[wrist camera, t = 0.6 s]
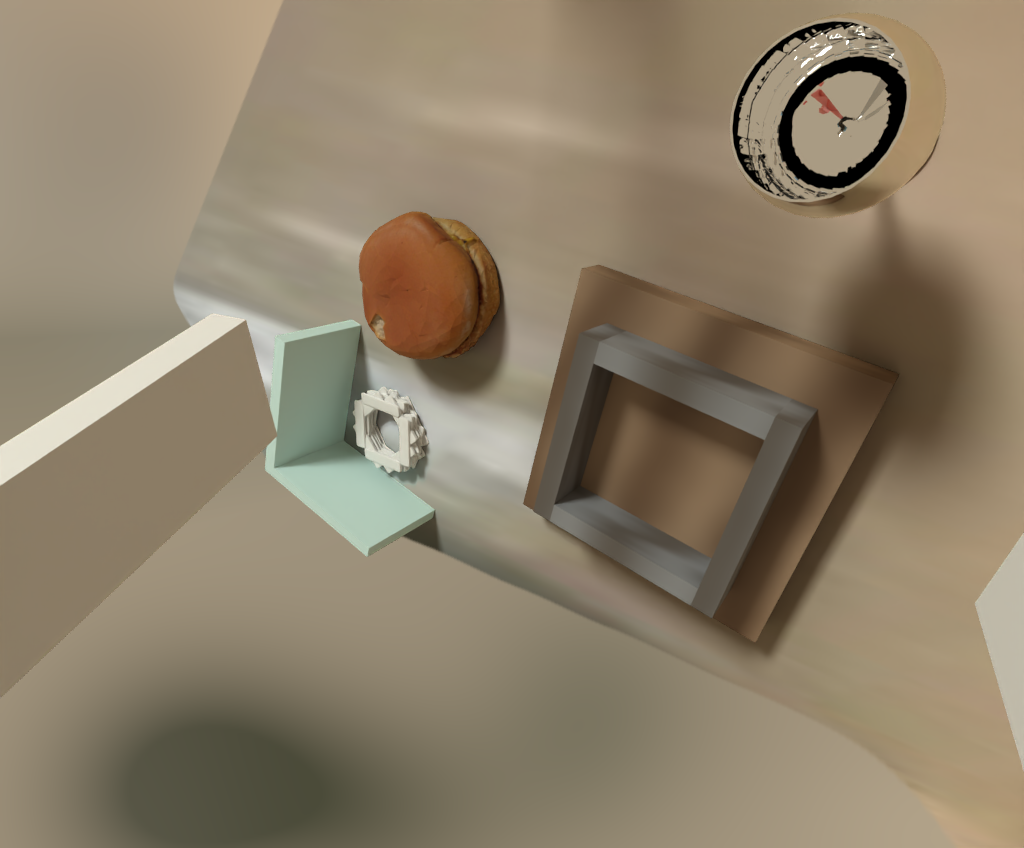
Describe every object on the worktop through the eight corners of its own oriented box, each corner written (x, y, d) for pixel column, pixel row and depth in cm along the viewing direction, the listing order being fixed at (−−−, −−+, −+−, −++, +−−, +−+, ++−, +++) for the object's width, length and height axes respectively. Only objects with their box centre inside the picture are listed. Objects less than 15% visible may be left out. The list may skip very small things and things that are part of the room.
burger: (521, 255, 39) (473, 263, 35) (477, 378, 44) (431, 395, 41) (411, 185, 42) (357, 186, 39) (382, 306, 48) (332, 317, 44)
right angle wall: (437, 515, 51) (367, 557, 46) (339, 440, 56) (264, 469, 51) (470, 390, 45) (394, 420, 40) (357, 318, 50) (275, 335, 44)
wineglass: (912, 226, 27) (868, 250, 18) (781, 187, 29) (684, 191, 20) (991, 74, 24) (987, 11, 15) (839, 46, 27) (756, -24, 17)
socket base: (899, 374, 29) (884, 403, 25) (765, 623, 36) (738, 675, 33) (599, 264, 36) (552, 274, 32) (539, 492, 44) (495, 522, 40)
